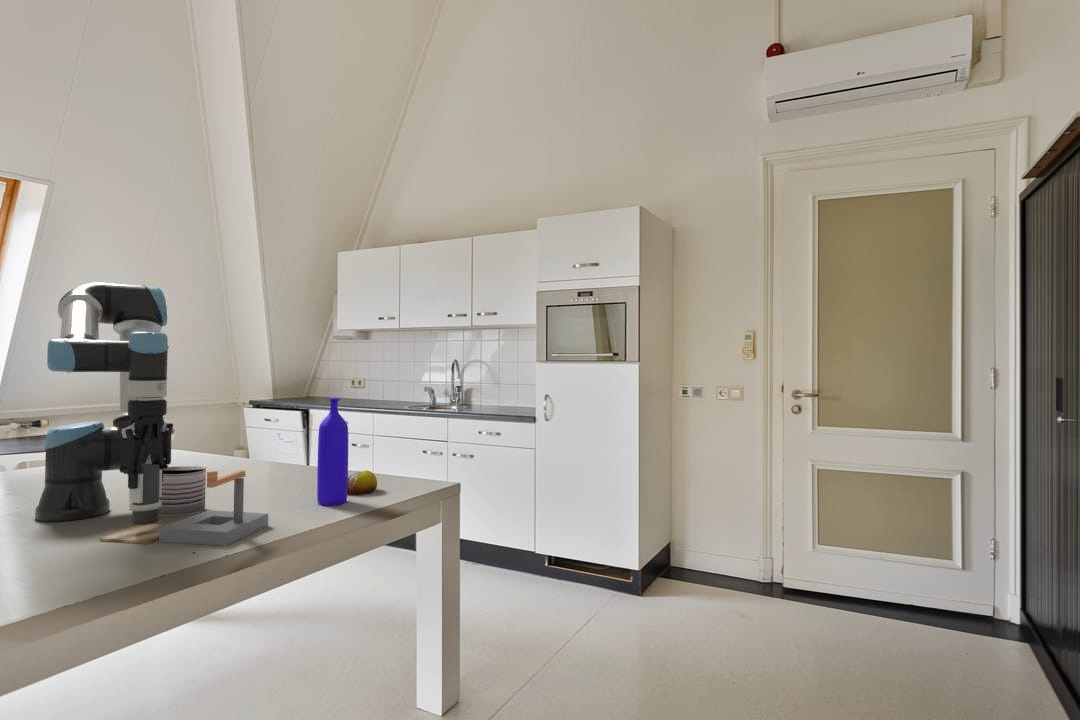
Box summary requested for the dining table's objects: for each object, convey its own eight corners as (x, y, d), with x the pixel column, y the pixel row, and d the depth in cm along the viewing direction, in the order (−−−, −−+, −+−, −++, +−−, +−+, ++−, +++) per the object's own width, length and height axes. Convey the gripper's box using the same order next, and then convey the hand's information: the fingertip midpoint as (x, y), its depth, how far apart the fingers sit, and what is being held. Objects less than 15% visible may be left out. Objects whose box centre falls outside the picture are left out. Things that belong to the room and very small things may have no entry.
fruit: (360, 485, 193) (366, 462, 192) (380, 499, 187) (386, 475, 186) (331, 490, 184) (336, 466, 182) (351, 505, 178) (357, 480, 177)
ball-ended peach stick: (215, 487, 126) (215, 472, 126) (203, 487, 126) (203, 472, 126) (247, 475, 140) (247, 462, 140) (236, 475, 140) (236, 461, 140)
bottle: (337, 507, 165) (339, 399, 165) (310, 505, 167) (312, 398, 167) (352, 500, 173) (354, 397, 173) (327, 498, 175) (329, 396, 175)
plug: (122, 525, 134) (123, 467, 134) (143, 517, 140) (145, 463, 140) (146, 526, 133) (148, 468, 134) (167, 519, 140) (168, 464, 140)
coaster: (99, 540, 132) (99, 537, 132) (142, 525, 144) (142, 523, 144) (148, 543, 130) (148, 541, 130) (187, 528, 142) (187, 526, 142)
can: (144, 514, 154) (145, 468, 154) (184, 504, 165) (185, 461, 165) (176, 519, 150) (177, 471, 150) (215, 508, 161) (216, 464, 161)
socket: (159, 541, 132) (160, 483, 132) (208, 522, 148) (209, 470, 148) (225, 545, 130) (226, 486, 130) (268, 525, 146) (269, 472, 146)
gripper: (130, 401, 128) (128, 510, 128) (190, 397, 145) (188, 492, 145) (99, 400, 129) (97, 508, 129) (162, 396, 146) (160, 490, 146)
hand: (145, 499), depth 137 cm, fingers closed on plug, 5 cm apart
